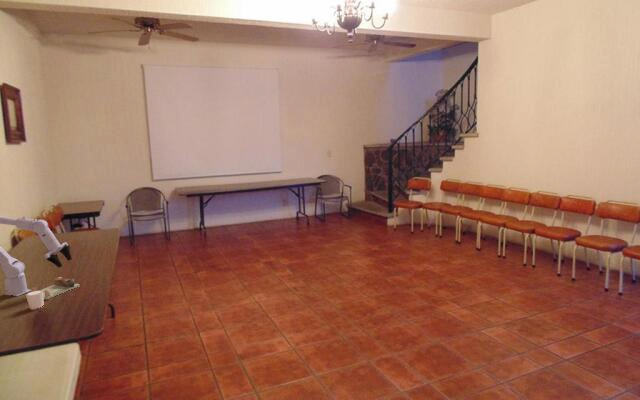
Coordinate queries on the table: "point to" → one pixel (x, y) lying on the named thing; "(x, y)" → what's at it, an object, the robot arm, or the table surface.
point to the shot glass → (35, 299)
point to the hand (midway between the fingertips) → (65, 263)
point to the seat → (55, 290)
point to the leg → (64, 282)
